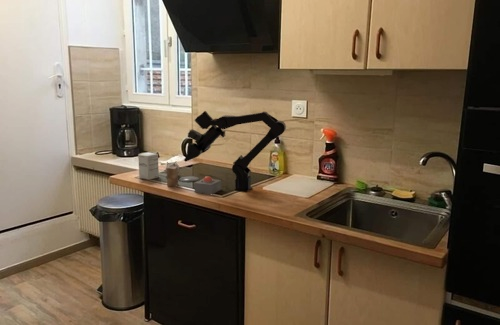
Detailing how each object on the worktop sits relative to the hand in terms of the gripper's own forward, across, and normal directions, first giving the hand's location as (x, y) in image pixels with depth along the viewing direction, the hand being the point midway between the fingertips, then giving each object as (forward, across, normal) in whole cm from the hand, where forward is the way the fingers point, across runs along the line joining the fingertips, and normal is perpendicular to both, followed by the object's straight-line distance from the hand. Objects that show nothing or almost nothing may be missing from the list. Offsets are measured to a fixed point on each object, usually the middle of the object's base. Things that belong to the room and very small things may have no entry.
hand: (188, 158), depth 196 cm
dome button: (+1, +5, +17) cm, 18 cm away
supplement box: (+28, -12, -8) cm, 32 cm away
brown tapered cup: (+15, 0, +4) cm, 16 cm away
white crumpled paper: (+20, -17, 0) cm, 26 cm away
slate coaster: (+12, -12, +7) cm, 19 cm away
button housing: (+2, +5, +18) cm, 18 cm away
